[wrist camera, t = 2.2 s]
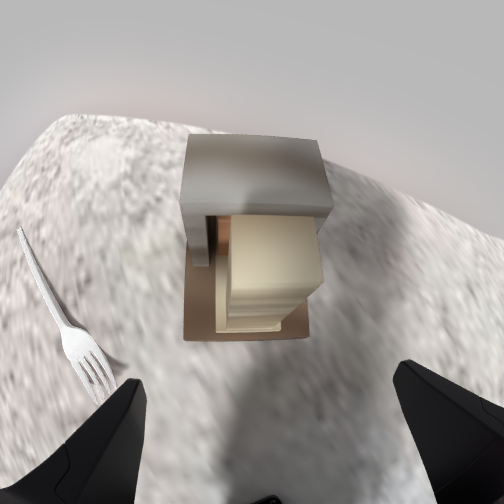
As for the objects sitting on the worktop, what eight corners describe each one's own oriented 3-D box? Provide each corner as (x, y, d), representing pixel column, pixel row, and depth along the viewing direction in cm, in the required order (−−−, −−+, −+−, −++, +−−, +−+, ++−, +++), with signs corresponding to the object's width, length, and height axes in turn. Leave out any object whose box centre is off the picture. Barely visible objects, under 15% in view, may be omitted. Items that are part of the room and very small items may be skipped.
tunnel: (305, 338, 20) (363, 310, 12) (185, 341, 19) (156, 315, 11) (287, 182, 26) (313, 105, 18) (193, 180, 25) (186, 98, 17)
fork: (32, 221, 22) (23, 212, 21) (130, 383, 18) (121, 383, 16) (13, 240, 21) (3, 232, 20) (103, 407, 16) (93, 408, 15)
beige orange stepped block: (278, 331, 19) (342, 281, 9) (216, 332, 19) (209, 283, 9) (269, 209, 23) (301, 100, 13) (216, 209, 23) (218, 94, 13)
